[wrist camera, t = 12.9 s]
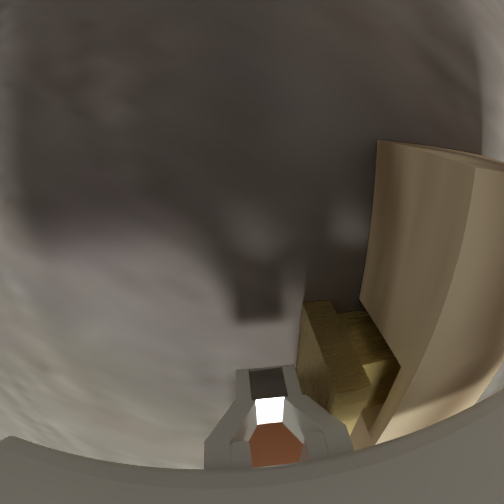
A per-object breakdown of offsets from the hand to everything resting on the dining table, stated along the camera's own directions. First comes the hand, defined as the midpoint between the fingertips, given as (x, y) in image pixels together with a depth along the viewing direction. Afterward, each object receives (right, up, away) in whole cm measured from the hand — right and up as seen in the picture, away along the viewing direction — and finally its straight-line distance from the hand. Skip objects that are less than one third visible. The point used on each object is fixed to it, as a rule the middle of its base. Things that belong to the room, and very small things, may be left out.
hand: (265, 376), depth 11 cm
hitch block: (+7, +2, +2) cm, 8 cm away
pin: (+10, +1, +2) cm, 10 cm away
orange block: (+1, -6, +5) cm, 8 cm away
